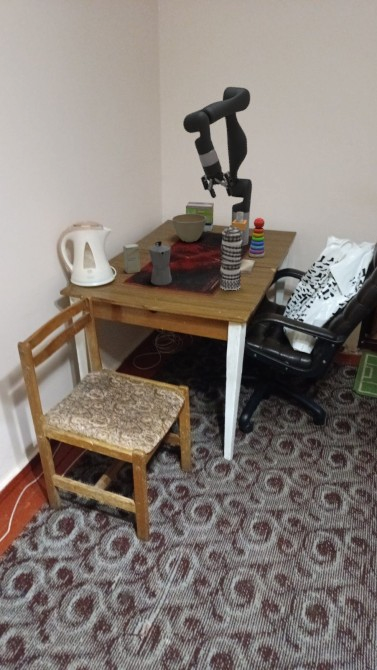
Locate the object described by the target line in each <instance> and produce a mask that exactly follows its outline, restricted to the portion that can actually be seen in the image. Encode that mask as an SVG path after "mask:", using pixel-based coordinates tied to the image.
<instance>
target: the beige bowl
mask: <svg viewBox="0 0 377 670" xmlns="http://www.w3.org/2000/svg"><path fill="white" fill-rule="evenodd" d="M171 220H172V225H173V228H174V231H175V234H176V235H177V237H178V238H179V239H180V240H181V241H182V242H184V241H185V243H194V241H195V242H197V241H198V240H199V239H200V237H201V236H202V234H203V232H204V231H203V230H204V227H205V223H206V217H205V216H203V215H199V214H186V213H185V214H184V213H183V214H177V215H175V216H173V217H172V219H171Z"/></svg>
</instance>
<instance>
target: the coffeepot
mask: <svg viewBox="0 0 377 670" xmlns="http://www.w3.org/2000/svg"><path fill="white" fill-rule="evenodd" d="M154 244H155V245H152V246H150V247H149V249H148V251H149V256H150V261H151V264H152V268H151V269H152V270H151V279H150V282H151V283H152V284H153V285H155V286H166V285H169V284H171V283H172V281H173V277H172V275H171V268H170V265H169V263H170V259H171V251H172V247H171V246H169V245H167V244H162V241H161V240H158V241H156V242H155V243H154Z"/></svg>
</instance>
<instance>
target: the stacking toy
mask: <svg viewBox="0 0 377 670" xmlns="http://www.w3.org/2000/svg"><path fill="white" fill-rule="evenodd" d="M264 226H265V220H264V219H263V218H262V217H256V218H255V219H254V221H253V227H254V228H253V232H252V233H251V234H252V237H251V241H250V245H249V248H248V249H249V252H248V256H249V257H250V258H255V259H260V258H264V257H265V255H266V254H265V236H264V235H265V234H264V231H265V230H264Z"/></svg>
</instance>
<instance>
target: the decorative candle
mask: <svg viewBox="0 0 377 670" xmlns="http://www.w3.org/2000/svg"><path fill="white" fill-rule="evenodd" d="M221 234H222V239H221V244H220V247H219V248H220V261H221V266H222V267H221V266H220V268H221V271H220V279H219V281H220V283H219V284H220V289H221V288H222V290H223V289H224V290H223V291H226V290H236V291H238V290H240V289H241V284H242V283H241V281H242V279H241V278H242V275H241V274H242V273H241V271H240V270H241V267H240V262H241V261H242V257H243V248H244V246H242V245H243V242H242V239H241V238H242V231H240V229H239V228H236V227H230V226H229V227H226V228H224V230H222V231H221ZM241 249H242V250H241ZM241 253H242V254H241ZM240 257H241V258H240ZM239 288H240V289H239ZM237 289H238V290H237Z"/></svg>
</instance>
